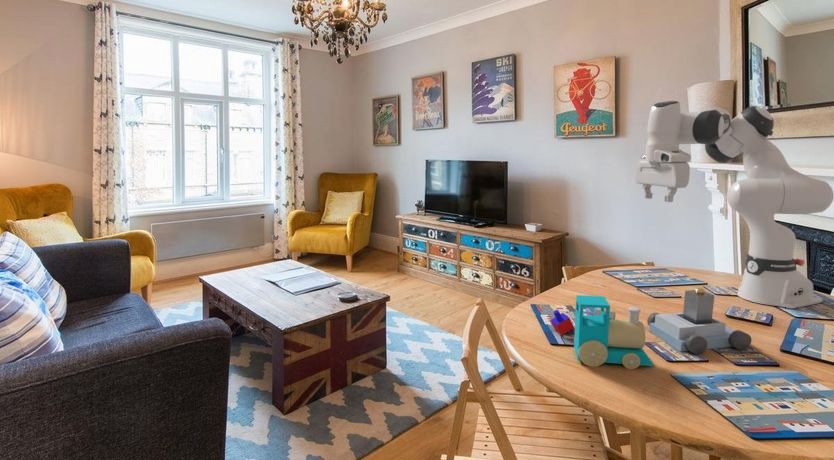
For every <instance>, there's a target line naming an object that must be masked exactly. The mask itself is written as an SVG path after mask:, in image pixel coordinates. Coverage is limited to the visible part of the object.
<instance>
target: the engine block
mask: <svg viewBox="0 0 834 460" xmlns="http://www.w3.org/2000/svg"><path fill="white" fill-rule="evenodd" d="M683 302H684V303H683V310H682V311H683V312H682V313H683V319H685V320H687V321H689V322H691V323H693V324H695V325H700V324H711V323H712V317H713V312H714V304H715V294H712V293H711V292H707V291H706V290H705V289H704V288H702V287H696V288H695V289H692V290H685V291H684V301H683Z"/></svg>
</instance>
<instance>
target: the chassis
mask: <svg viewBox="0 0 834 460" xmlns="http://www.w3.org/2000/svg"><path fill="white" fill-rule="evenodd" d="M646 321H647V326H648V332H649V333H650V334H652V335H654V336H655V337H657V338H658V339H661V341H663V342H665V343H666V344H668V345H670V346H671V347H673V348H674V349H676V350H677V351H679V352H688V351H689V352H691V353H692V354H694V355H702V354H703V353H704V352H705V351H706V350H710V349H711V350H712V349H721V348H732V347H733V348H735V349H737V350H739V351H745V350H747V349H748V348H749V347H750V346H751V344H752V337H751V335H750V334H748V333H747V332H744V331H743V330H739V329H738V330H735V329H733V328H730V327H729V326H727V325H726V324H727V323H725V322H724V321H722V320H719V319H717V318H715V317H713V316H712V323H711V324H700V325H695V324H693V323H691V322H689V321H687V320H685V319H683V312H675V313H658V312H653V313H651V314H649V316H648V317H647V320H646Z"/></svg>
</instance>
